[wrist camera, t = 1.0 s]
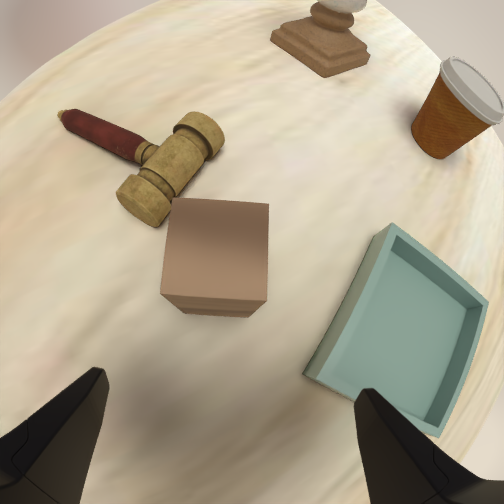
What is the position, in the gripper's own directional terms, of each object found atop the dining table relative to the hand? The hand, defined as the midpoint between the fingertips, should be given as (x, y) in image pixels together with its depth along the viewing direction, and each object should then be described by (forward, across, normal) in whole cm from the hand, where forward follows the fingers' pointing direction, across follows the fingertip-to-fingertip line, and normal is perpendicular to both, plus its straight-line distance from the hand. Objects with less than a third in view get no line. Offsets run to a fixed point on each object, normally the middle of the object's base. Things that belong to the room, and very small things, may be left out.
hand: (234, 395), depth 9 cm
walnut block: (+14, +1, +4) cm, 15 cm away
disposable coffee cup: (+28, -24, -11) cm, 38 cm away
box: (+12, -15, +7) cm, 20 cm away
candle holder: (+37, -9, -22) cm, 44 cm away
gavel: (+23, +14, -5) cm, 27 cm away
